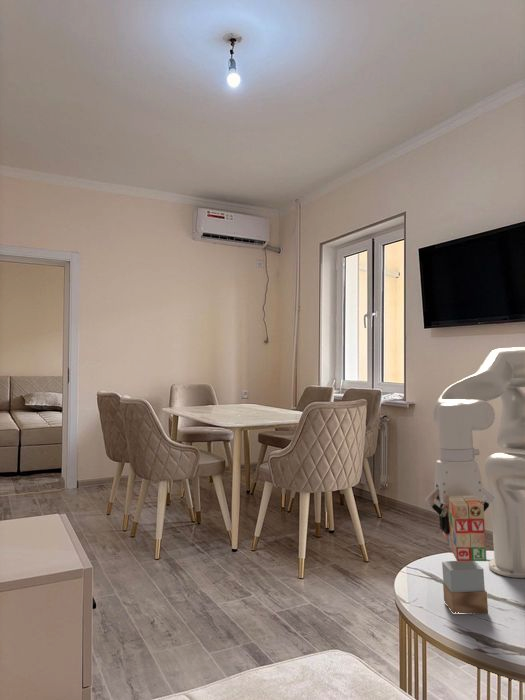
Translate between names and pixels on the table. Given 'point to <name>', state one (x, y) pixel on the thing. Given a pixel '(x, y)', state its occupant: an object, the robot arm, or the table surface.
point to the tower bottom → (466, 601)
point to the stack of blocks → (466, 528)
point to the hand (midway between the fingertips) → (461, 531)
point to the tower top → (463, 576)
